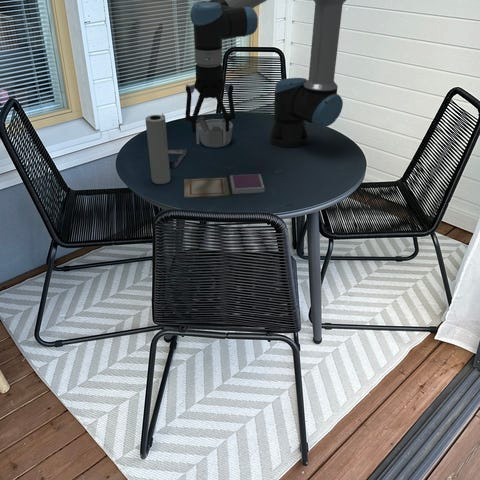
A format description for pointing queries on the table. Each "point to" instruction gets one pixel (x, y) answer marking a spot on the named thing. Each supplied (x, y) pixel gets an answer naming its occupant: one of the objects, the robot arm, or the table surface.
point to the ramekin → (210, 123)
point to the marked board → (206, 187)
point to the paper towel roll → (158, 148)
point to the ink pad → (246, 184)
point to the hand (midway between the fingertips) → (211, 141)
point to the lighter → (212, 133)
